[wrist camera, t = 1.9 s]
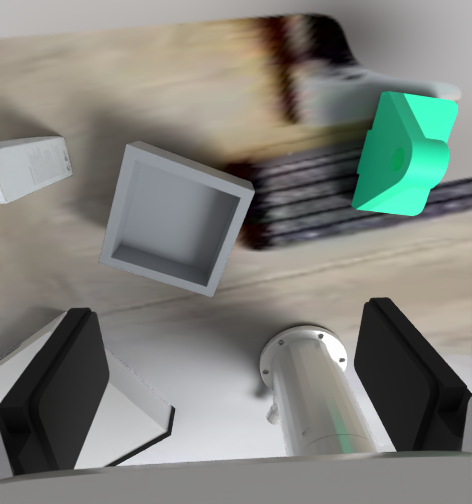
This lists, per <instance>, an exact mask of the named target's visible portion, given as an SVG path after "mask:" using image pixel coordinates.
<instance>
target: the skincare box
mask: <svg viewBox="0 0 472 504" xmlns="http://www.w3.org/2000/svg"><path fill="white" fill-rule="evenodd" d="M71 175H73V172H72V168H71V163H70V159H69V156H68V152H67V148H66V144H65V140H64V138H63V137H61V136H46V137H31V138H21V139H13V140H6V141H0V204H6V203H9V202H11V201H14V200H16V199H18V198H21V197H23V196H25V195H27V194H30V193H32V192H34V191H36V190H39V189H41V188H43V187H46V186H48V185H50V184H53V183H55V182H57V181H60V180H62V179H64V178H67V177H69V176H71Z"/></svg>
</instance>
